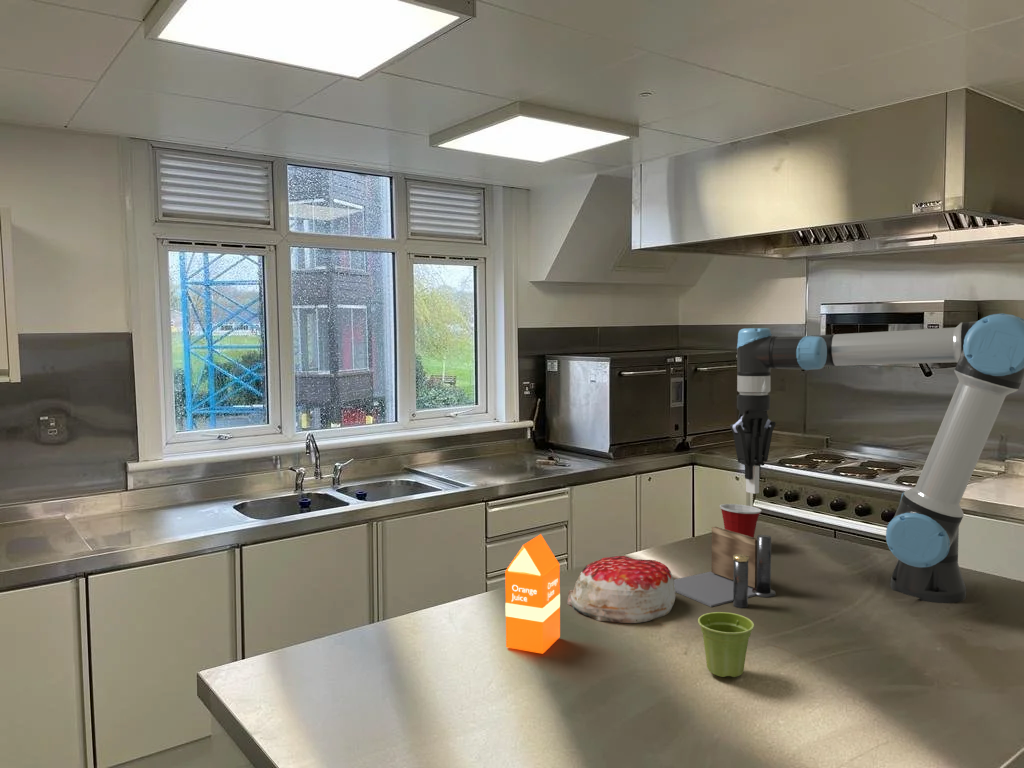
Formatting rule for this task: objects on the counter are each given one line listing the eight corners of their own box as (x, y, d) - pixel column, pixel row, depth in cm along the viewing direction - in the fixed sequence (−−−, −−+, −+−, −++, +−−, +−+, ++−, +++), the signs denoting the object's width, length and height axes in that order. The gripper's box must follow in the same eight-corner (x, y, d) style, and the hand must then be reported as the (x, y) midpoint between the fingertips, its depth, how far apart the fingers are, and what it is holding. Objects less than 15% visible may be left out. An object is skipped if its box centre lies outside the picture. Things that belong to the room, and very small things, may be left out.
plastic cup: (770, 553, 204) (770, 508, 203) (736, 558, 200) (737, 512, 199) (743, 543, 214) (743, 500, 213) (710, 547, 210) (711, 504, 209)
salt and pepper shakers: (786, 597, 171) (787, 539, 170) (740, 609, 164) (741, 548, 163) (762, 588, 177) (763, 532, 176) (717, 599, 170) (717, 541, 169)
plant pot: (763, 669, 135) (764, 621, 134) (736, 688, 128) (737, 636, 127) (715, 654, 141) (715, 608, 141) (687, 671, 135) (687, 622, 134)
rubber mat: (766, 592, 174) (766, 591, 174) (710, 606, 165) (710, 605, 165) (711, 572, 188) (711, 571, 188) (658, 584, 180) (658, 583, 180)
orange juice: (560, 636, 150) (560, 535, 149) (543, 654, 142) (542, 547, 141) (524, 630, 154) (523, 531, 152) (504, 647, 146) (503, 542, 144)
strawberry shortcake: (672, 586, 179) (672, 544, 179) (678, 626, 155) (678, 577, 155) (573, 582, 183) (572, 541, 182) (563, 620, 159) (563, 573, 158)
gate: (758, 587, 175) (759, 539, 175) (754, 588, 175) (754, 540, 174) (715, 571, 187) (715, 526, 186) (711, 572, 186) (711, 527, 186)
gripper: (760, 391, 189) (759, 486, 190) (721, 393, 182) (720, 492, 184) (785, 393, 182) (784, 492, 184) (745, 396, 176) (744, 498, 178)
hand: (752, 492), depth 184 cm, fingers closed
